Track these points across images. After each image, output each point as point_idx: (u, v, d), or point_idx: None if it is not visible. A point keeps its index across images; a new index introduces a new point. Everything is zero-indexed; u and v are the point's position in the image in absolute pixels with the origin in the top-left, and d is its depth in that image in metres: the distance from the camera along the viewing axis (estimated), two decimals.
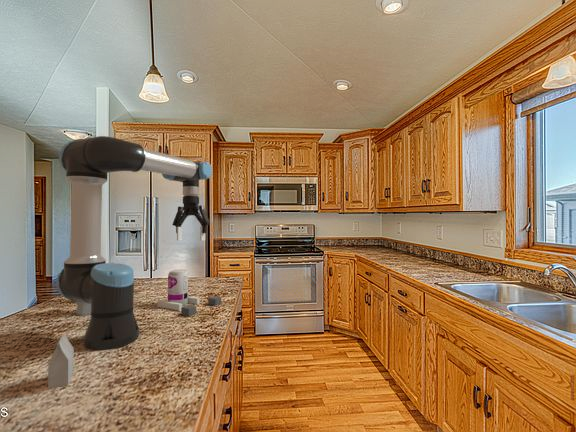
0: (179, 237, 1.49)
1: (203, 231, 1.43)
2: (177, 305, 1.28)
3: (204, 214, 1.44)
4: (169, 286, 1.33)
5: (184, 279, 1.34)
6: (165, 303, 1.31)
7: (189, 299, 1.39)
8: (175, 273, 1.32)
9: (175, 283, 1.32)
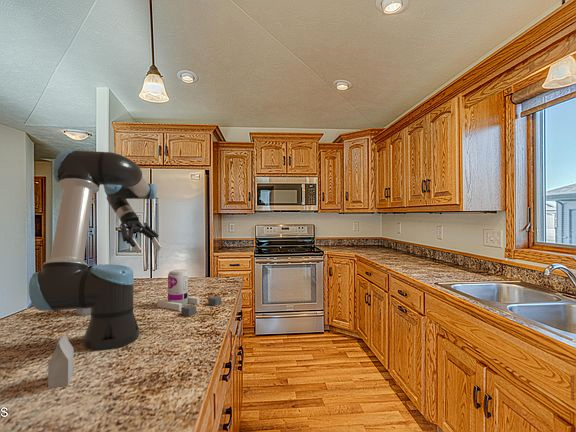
0: None
1: (157, 241, 1.51)
2: (177, 305, 1.28)
3: None
4: (169, 286, 1.33)
5: (184, 279, 1.34)
6: (165, 303, 1.31)
7: (189, 299, 1.39)
8: (175, 273, 1.32)
9: (175, 283, 1.32)
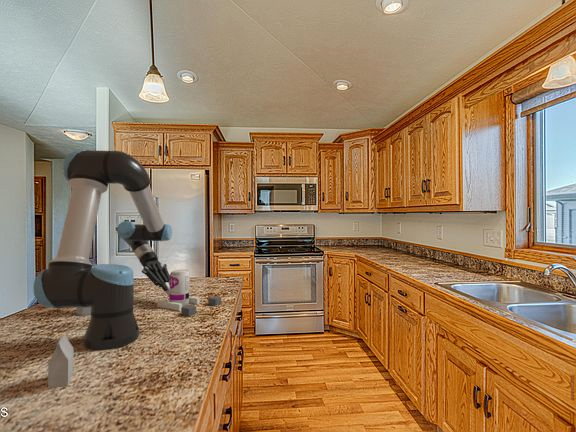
0: None
1: None
2: (177, 305, 1.28)
3: None
4: (171, 286, 1.32)
5: (186, 279, 1.34)
6: (165, 303, 1.31)
7: (189, 299, 1.39)
8: (177, 273, 1.32)
9: (177, 283, 1.32)
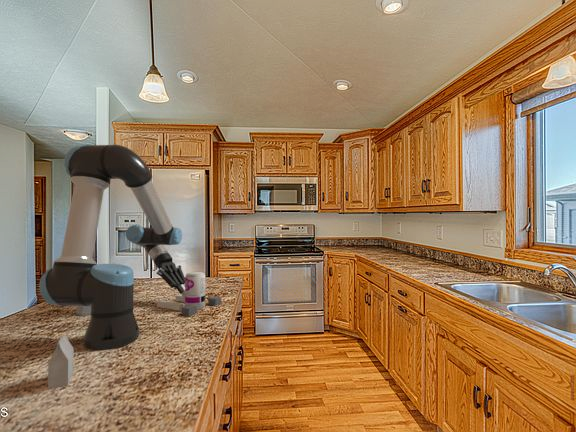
0: None
1: None
2: (177, 305, 1.28)
3: None
4: (186, 288, 1.29)
5: (201, 281, 1.29)
6: (165, 303, 1.31)
7: None
8: (192, 275, 1.28)
9: (192, 285, 1.27)
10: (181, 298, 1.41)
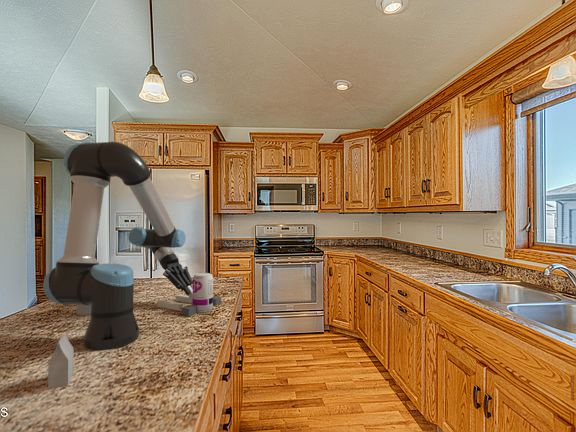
0: None
1: (192, 290, 1.34)
2: (177, 305, 1.28)
3: None
4: (193, 290, 1.25)
5: (209, 283, 1.26)
6: (165, 303, 1.31)
7: (189, 299, 1.39)
8: (200, 277, 1.25)
9: (200, 287, 1.24)
10: (181, 298, 1.41)
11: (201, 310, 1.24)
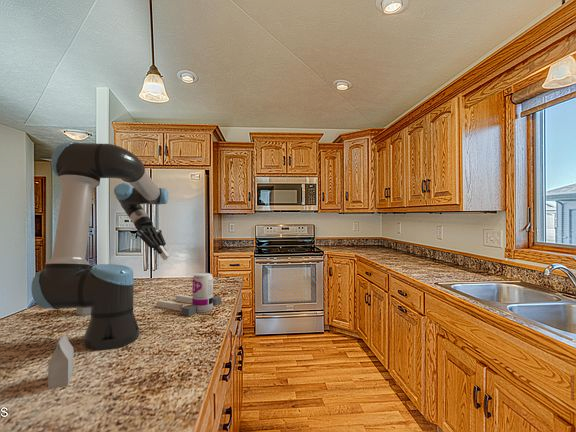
0: None
1: None
2: (177, 305, 1.28)
3: None
4: (193, 290, 1.25)
5: (209, 283, 1.26)
6: (165, 303, 1.31)
7: (189, 299, 1.39)
8: (200, 277, 1.25)
9: (200, 287, 1.24)
10: (181, 298, 1.41)
11: (201, 310, 1.24)
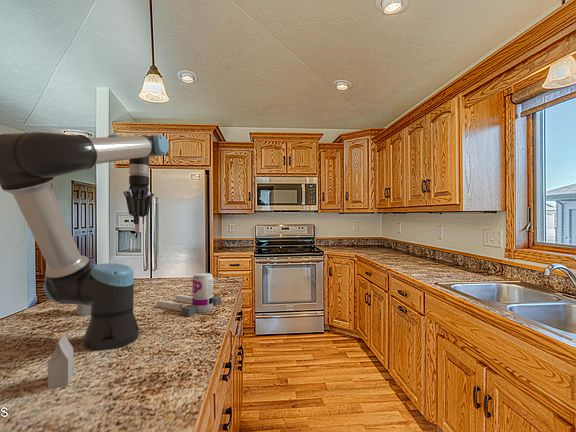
0: None
1: None
2: (177, 305, 1.28)
3: None
4: (193, 290, 1.25)
5: (209, 283, 1.26)
6: (165, 303, 1.31)
7: (189, 299, 1.39)
8: (200, 277, 1.25)
9: (200, 287, 1.24)
10: (181, 298, 1.41)
11: (201, 310, 1.24)
